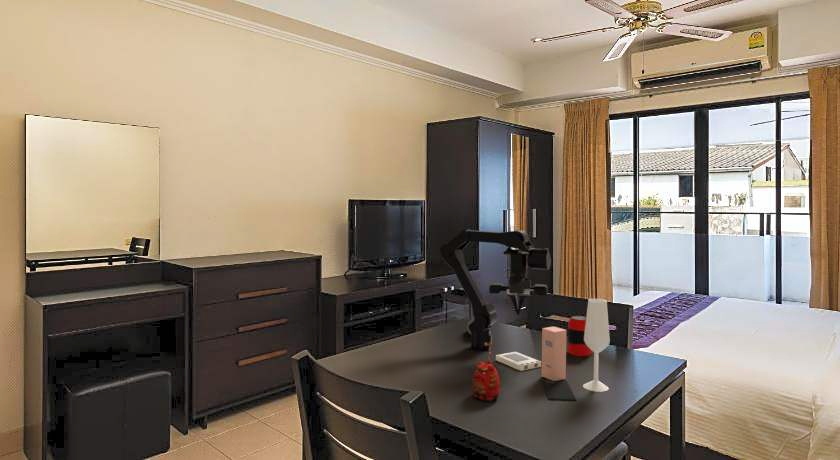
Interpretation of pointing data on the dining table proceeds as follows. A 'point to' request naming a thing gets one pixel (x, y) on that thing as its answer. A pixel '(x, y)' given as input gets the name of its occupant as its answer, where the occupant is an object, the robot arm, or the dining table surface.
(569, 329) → the soda can
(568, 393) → the smartphone
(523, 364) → the pad
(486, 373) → the red clay folk toy
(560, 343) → the block
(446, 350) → the dining table surface
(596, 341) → the champagne flute
